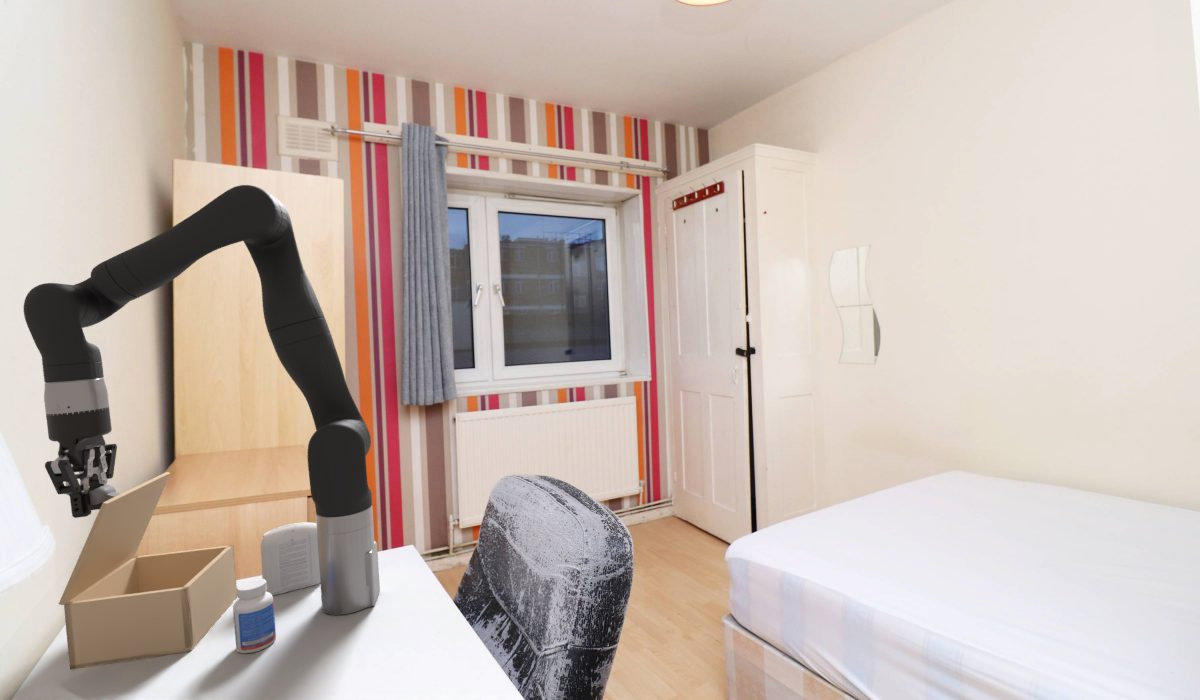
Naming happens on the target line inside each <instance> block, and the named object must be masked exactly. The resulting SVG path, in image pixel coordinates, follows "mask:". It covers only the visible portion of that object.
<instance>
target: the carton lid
mask: <svg viewBox="0 0 1200 700" xmlns="http://www.w3.org/2000/svg"><path fill="white" fill-rule="evenodd" d="M170 475H171V472H169V471H166V472H163V473H162V474H160V475H158V476H155V477H154V478H153V477H152V478H151V479H149V480H147V481H145V482H142V483H140V484H139V485H137V486H134V487H133V488H131V489H128V490H126V491H124V492H122V493H118V492H117V489H116V488H115V487H114V486H113V485H111V484H106V485H104V486H101V487H99V488H97V489H94V490H92V491H90V492H89V497H90V504H92V505H97V504H100V503H102V502H103V503H102V506H101V508H100V509H98V513H97V515H96V517H95V519H94V521H93V525H92V526H91V528H90V531H89V533H88V535H87V538H86V540H85V543H84V545H83V547H82V549H81V552H80V554H79V556H78V559H77V561H76V563H75V565H74V567H73V570H72V572H71V575H70V577H69V580H68V582H67V584H66V585H65V588H64V591H63V593H62V595H61V597H60V600H59V602H58V605H61V606H64V604H66V603H67V602H69V601H70V600H71V599H73V598H74V597H76V596H77V595H79V594H80V593H82V592H83V591H85V590H86V589H87V588H89V587H90V586H92V585H93V584H95V583H96V582H98V581H99V580H101V579H102V578H103V577H105V576H106V575H108V574H109V573H111V572H112V571H114V570H115V569H117V568H118V567H120V566H121V565H122V564H124V563H125V562H127V561H128V560H130V559H131V558H133V557H134V556H136V554H137V552H138V549H139V547H140V545H141V542H142V540H143V537H144V535H145V533H146V530H147V528H148V526H149V524H150V522H151V519H152V517H153V515H154V512H155V510H156V507H157V506H158V503H159V501H160V498H161V496H162V494H163V493H164V492H163V491H164V489H165V487H166V484H167V482H168V481H169V478H170Z"/></svg>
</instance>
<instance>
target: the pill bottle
mask: <svg viewBox="0 0 1200 700" xmlns="http://www.w3.org/2000/svg"><path fill="white" fill-rule="evenodd" d="M266 590H267V583H266V580H265V579H262V578H255V579H249V580H247V581H244V582H242V583H240V584H239V585H237V599H236V600H235V601H234V602H233V603H234V604H232V605H233V606H232V609H233V610H232V612H233V613H232V614H233V623H234V637H235V646H236V651H237V652H238V653H242V654H251V653H256V652H260V651H262V650H264V649H266V648H269V646H271V645H272V644H273V643H274V642H275V641H276V638H277V634H276V632H277V631H276V619H275V618H276V617H275V607H274V606H275V605H274V598H273V597H274V595H272V594H271V593H269V592H266Z"/></svg>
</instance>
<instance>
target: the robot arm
mask: <svg viewBox="0 0 1200 700" xmlns="http://www.w3.org/2000/svg"><path fill="white" fill-rule="evenodd" d="M241 242H243V243H244V245H245V246H246V248H247V250H248V252H249V254H250V256H251V259H252V261H253V263H254V265H255V268H256V270H257V274H258V276H259V279H260V284H261V298H262V313H263V318H264V323H265V326H266V330H267V332H268V336H269V338H270V341H271V343H272V346H273V348H274V350H275V354H276V356H277V357H278V359H279V362H280V363H281V365H282V367H283V368H284V369H285V372H287V374H288V375H289V377H290V378H291V380H292V381H293V382H294V384H295V385H296V387H298V390H300V392H301V393H302V395H303V397H304V398H305V400H306V402H307V406H308V407H309V409H310V413H311V415H312V420H313V423H314V426H315V430H316V431H314V433H313V434H312V435H311V437H310V440H309V442H308V445H307V469H308V470H307V471H308V476H309V479H308V480H309V489H310V495H311V496H310V497H311V499H312V502H313V503H314V507H315V523H317V538H318V553H319V568H320V583H319V584H320V593H321V595H320V598H321V599H320V600H321V609H322V611H323V613H326V614H329V615H333V616H337V615H338V616H339V615H348V614H351V613H352V614H353V613H355V612H358V611H363V610H364V609H366V608H369V607H374V606H376V604H377V601H378V598H379V595H380V591H381V587H380V568H379V555H378V553H379V552H378V541H375V531H374V529H375V528H374V516H373V515H374V514H373V513H374V512H373V497H372V496H373V495H372V490H371V489H370V487H369V483H368V472H367V462H366V461H367V460H366V459H367V457H366V456H367V455H368V453H369V451H370V449H371V444H372V438H371V437H372V436H371V434H370V433H371V432H370V430H369V428H368V426H367V424H366V422H365V420H364V418H363V416H362V414H361V413H360V411H359V409H358V407H357V405H356V403H355V400H354V398H353V396H352V394H351V391H350V389H349V387H348V384H347V381H346V378H345V375H344V370H343V367H342V364H341V361H340V358H339V355H338V351H337V349H336V345H335V342H334V339H333V336H332V333H331V331H330V328H329V325H328V322H327V320H326V318H325V314H324V312H323V310H322V307H321V305H320V302H319V300H318V298H317V295H316V291H315V290H314V288H313V286H312V284H311V281H310V280H309V277H308V275H307V273H306V271H305V269H304V266H303V262H302V260H301V256H300V252H299V248H298V244H297V241H296V236H295V232H294V229H293V224H292V220H291V216H290V213H289V211H288V209H287V207H286V206H285V204H284V203H283V202H281V201H280V200H279V199H278V198H277V197H276V196H274V195H273V194H271V193H270V192H268V191H267V190H264V189H263V188H261V187H258V186H254V185H251V184H240V185H237V186H233V187H231V188H229V189H228V190H226V191H224V192H223V193H222V194H219V195H218V196H217V197H216V198H214V199H212V200H211V201H210V202H208V203H207V204H205V205H204V206H203V207H202V208H200V209H198V210H197V211H196V212H194V213H192V214H191V215H189V216H188V217H186V218H185V219H183V220H181V221H180V222H178V223H177V224H175V225H174V226H172V227H170V228H169V229H167V230H165V231H163V232H162V233H160V234H158V235H156V236H154V237H152V238H150V239H148V240H146V241H144V242H142V243H140V244H137V245H136V246H134V247H131V248H129V249H127V250H125V251H123V252H120V253H119V254H116V255H114V256H112V257H110V258H107V259H106V260H104V261H102V262H100V263H99V264H97V265H95V266H94V267H93V268H92V270H91V272H90V277H88V278H87V279H85V280H83V281H81V282H78V283H76V284H67V283H57V282H47V283H41V284H38V285H36V286H34V287H32V288H31V289H30V290H29V291H28V293H27V295H26V296H25V298H24V301H23V316H24V320H25V322H26V323H25V324H26V325H27V328H28V330H29V332H30V335H31V338H32V340H33V342H34V343H35V346H36V348H37V349H38V353H40V356H41V361H42V362H41V364H42V365H41V366H42V372H43V381H44V391H43V392H44V394H43V399H44V400H43V402H44V409H45V420H46V425H47V434H48V435H47V436H48V440H49V441H52V442H56V443H57V442H58V444H59V447H58V451H57V454H58V455H57V456H58V457H56V458H55V459H54V460H49V461H48V460H47V461H46V462H45V463H44V468H45V470H46V472H47V474H48V476H49V478H50V480H51V482H52V485H53V487H54V488H55V491H56V494H57V495H67V496H69V499H70V500H69V501H70V508H71V517H73V518H75V519H77V518H78V519H79V518H84V517H88V516H90V515H91V514H92V511H95V510H100V508H101V506H102V503H103V502H102V503H100V504H97V505H92V504H90V497H89V492H90V491H92V490H94V489H97V488H99V487H101V486H104V485H108V479H109V480H111V479H113V477H114V473H115V465H116V457H117V452H118V451H117V450H118V445H117V443H106V440H105V438H104V436H105V435H108V434H110V433H111V432H112V429H113V428H112V420H111V419H112V418H111V413H110V402H109V394H108V390H107V385H106V382H105V378H104V368H103V360H102V354H101V351H100V348H99V347H98V346H97V345H95V344H93V343H90V342H89V341H88V340H87V339H86V335H85V332H84V330H83V329H84V328H88V327H92V326H94V325H96V324H98V323H102V322H103V321H105V320H107V319H108V318H109V317H111V316H113V315H114V314H115V313H117V312H118V311H120V310H121V309H122V308H124V307H125V306H126V305H128V304H129V303H130V302H131V301H134V300H136V299H139V298H140V297H143V296H145V295H146V294H149V293H151V292H153V291H155V290H157V289H159V288H161V287H162V286H164V285H166V284H168V283H170V282H171V281H173V280H174V279H176V278H177V277H179V276H180V275H181V274H183V273H184V272H185V271H186V270H187V269H189V268H190V267H191V266H192V265H193V264H195V263H196V262H197V261H198V260H200V259H202V258H203V257H205V256H206V255H208V254H211V253H212V252H215V251H218V250H219V249H222V248H225V247H227V246H231V245H234V244H237V243H241ZM76 473H77V474H76ZM79 481H80V482H79Z"/></svg>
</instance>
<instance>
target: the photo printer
mask: <svg viewBox="0 0 1200 700" xmlns="http://www.w3.org/2000/svg"><path fill="white" fill-rule="evenodd" d="M260 555H261V557H260V558H261V559H260V560H261V574H262V575H261V576H262V577H261V579H265V580H266V583H267V590H266V592H269V593H271V594H272V596H275V595H276V596H277V595H281V594H283V593H288V592H291V591H296V590H300V589H304V588H308V587H312V586H316V585H318V584H321V583H320V568H319V553H318V538H317V523H316V522H305V521H304V522H296V523H295V522H294V523H289V524H284V525H281V526H277V527H275V528H272V529H271V530H269V531H267V532H264V533H263V534H262V539H261V542H260Z"/></svg>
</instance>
